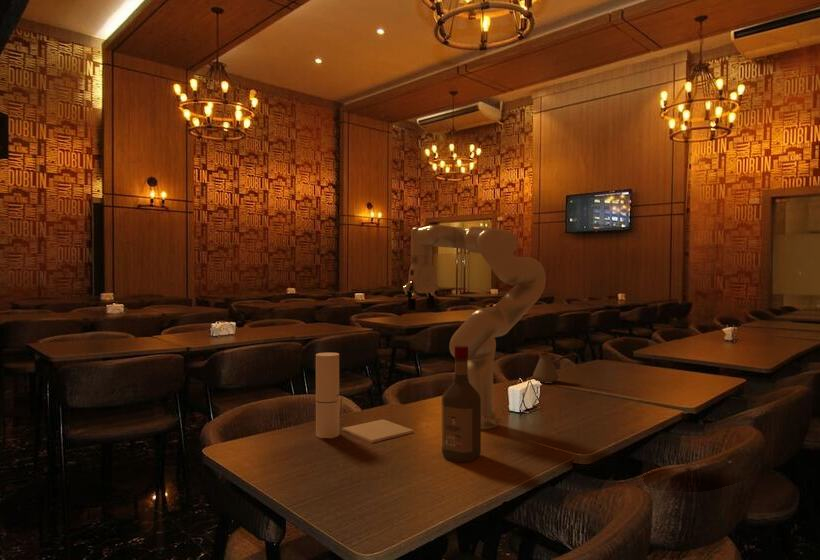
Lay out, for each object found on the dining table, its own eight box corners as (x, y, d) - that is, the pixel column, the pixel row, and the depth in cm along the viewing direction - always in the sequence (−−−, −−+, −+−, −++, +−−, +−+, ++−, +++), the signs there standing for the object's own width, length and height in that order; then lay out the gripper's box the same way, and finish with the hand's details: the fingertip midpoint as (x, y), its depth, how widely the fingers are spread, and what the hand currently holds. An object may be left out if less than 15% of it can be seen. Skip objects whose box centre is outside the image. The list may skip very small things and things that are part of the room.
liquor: (469, 464, 140) (469, 350, 140) (438, 458, 145) (438, 347, 144) (483, 454, 148) (483, 346, 147) (454, 449, 153) (454, 343, 152)
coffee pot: (527, 382, 246) (527, 349, 246) (541, 378, 254) (541, 346, 254) (570, 389, 231) (571, 354, 231) (583, 385, 239) (583, 351, 239)
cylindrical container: (343, 432, 168) (343, 353, 167) (332, 439, 161) (332, 356, 161) (322, 430, 170) (322, 352, 170) (311, 437, 163) (311, 355, 163)
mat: (413, 432, 168) (413, 430, 168) (371, 442, 158) (371, 440, 158) (382, 421, 180) (382, 419, 180) (342, 430, 170) (342, 428, 170)
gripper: (411, 261, 183) (411, 311, 183) (445, 261, 195) (445, 308, 195) (396, 261, 188) (396, 310, 188) (430, 261, 200) (430, 307, 201)
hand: (421, 309), depth 192 cm, fingers open, 9 cm apart
